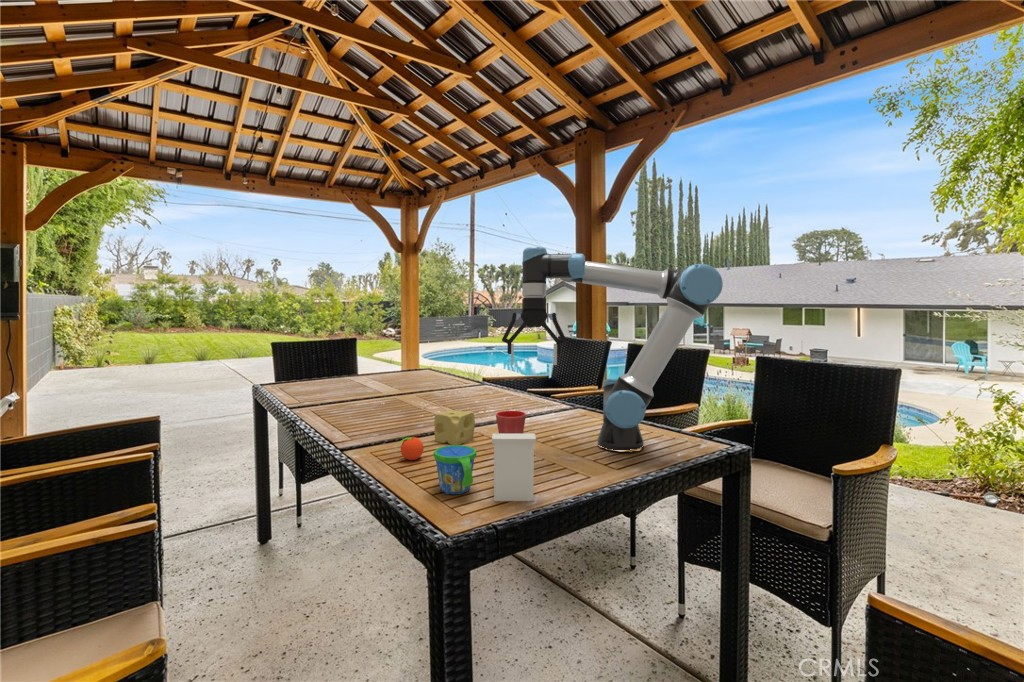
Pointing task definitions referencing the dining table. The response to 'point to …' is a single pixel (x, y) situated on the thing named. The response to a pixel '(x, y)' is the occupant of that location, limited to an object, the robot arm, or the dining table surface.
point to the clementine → (411, 448)
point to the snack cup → (455, 468)
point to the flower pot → (510, 422)
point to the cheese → (454, 427)
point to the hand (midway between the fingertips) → (533, 364)
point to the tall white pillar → (513, 466)
